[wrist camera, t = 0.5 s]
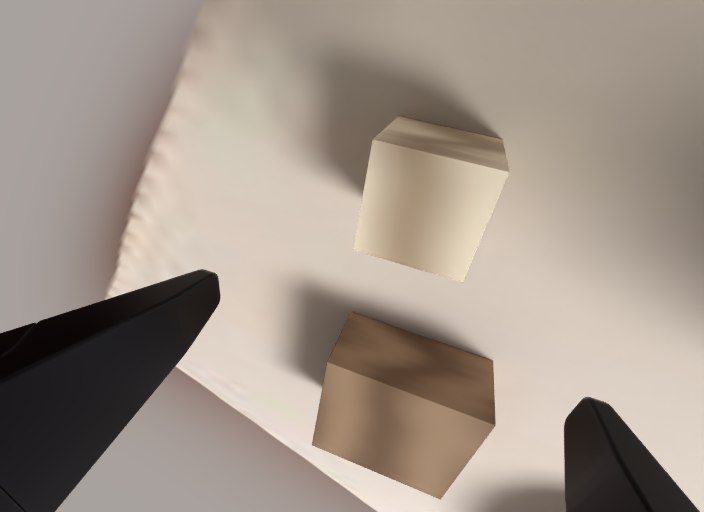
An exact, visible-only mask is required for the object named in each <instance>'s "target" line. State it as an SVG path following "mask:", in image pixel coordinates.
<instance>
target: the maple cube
mask: <svg viewBox="0 0 704 512" xmlns="http://www.w3.org/2000/svg"><path fill="white" fill-rule="evenodd" d="M508 174H509V168H508V163H507V159H506V154H505V149H504V144H503V139H499V138H494V137H490V136H485V135H481V134H476V133H472V132H467V131H463V130H458V129H454V128H449V127H445V126H440V125H436V124H431V123H427V122H422V121H418V120H413V119H409V118H405V117H400V116H398V117H397V118H396V119H395V120H393V121H392V122H391V123H390V124H389V125H388V126H387V127H386V128H385V129H384V130H382V131H381V132H380V133H379V134H378V135H377V136H376V137H375V138H374V139H373V140H372V146H371V151H370V157H369V163H368V168H367V174H366V180H365V185H364V191H363V197H362V202H361V208H360V214H359V219H358V225H357V231H356V237H355V242H354V248H353V250H356V251H359V252H362V253H366V254H369V255H372V256H376V257H379V258H382V259H386V260H389V261H392V262H396V263H399V264H402V265H406V266H409V267H412V268H416V269H419V270H422V271H425V272H429V273H432V274H435V275H439V276H442V277H445V278H449V279H452V280H455V281H459V282H462V283H463V281H464V279H465V276H466V274H467V272H468V269H469V267H470V264H471V262H472V260H473V257H474V255H475V253H476V250H477V248H478V245H479V243H480V241H481V238H482V236H483V234H484V231H485V229H486V226H487V224H488V222H489V219H490V217H491V215H492V212H493V210H494V207H495V205H496V203H497V200H498V198H499V196H500V193H501V191H502V188H503V186H504V184H505V181H506V179H507V177H508Z"/></svg>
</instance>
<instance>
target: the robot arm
mask: <svg viewBox="0 0 704 512" xmlns="http://www.w3.org/2000/svg"><path fill="white" fill-rule="evenodd" d="M219 302H220V289H219V280H218V276H217V274H215V273H213V272H210V271H207V270H204V269H201V270H197V271H194V272H191V273H188V274H185V275H181V276H178V277H175V278H172V279H169V280H166V281H163V282H160V283H157V284H153V285H150V286H147V287H144V288H141V289H138V290H135V291H132V292H128V293H125V294H122V295H119V296H116V297H113V298H110V299H107V300H103V301H101V302H97V303H94V304H91V305H88V306H85V307H82V308H79V309H76V310H72V311H69V312H66V313H63V314H60V315H57V316H54V317H50V318H48V319H44V320H41V321H39V322H38V323H32V324H29V325H25V326H22V327H19V328H16V329H13V330H10V331H6V332H3V333H0V512H55V511H56V510H57V508H58V507H59V506H60V505H61V504H62V502H63V501H64V500H65V499H66V497H67V496H68V495H69V494H70V493H71V492H72V490H73V489H74V488H75V487H76V485H77V484H78V483H79V482H80V481H81V480H82V478H83V477H84V476H85V475H86V473H87V472H88V471H89V470H90V469H91V467H92V466H93V465H94V464H95V463H96V461H97V460H98V459H99V458H100V457H101V455H102V454H103V453H104V452H105V450H106V449H107V448H108V447H109V446H110V444H111V443H112V442H113V441H114V440H115V438H116V437H117V436H118V434H119V433H120V432H121V431H122V430H123V429H124V427H125V426H126V425H127V424H128V423H129V421H130V420H131V419H132V418H133V417H134V415H135V414H136V413H137V412H138V411H139V409H140V408H141V407H142V406H143V404H144V403H145V402H146V401H147V400H148V398H149V397H150V396H151V395H152V394H153V392H154V391H155V390H156V389H157V388H158V386H159V385H160V384H161V383H162V382H163V380H164V379H165V378H166V377H167V375H168V374H169V373H170V371H172V369H173V368H174V367H175V366H176V365H177V363H178V362H179V361H180V360H181V358H182V357H183V356H184V355H185V353H186V352H187V351H188V349H189V348H190V346H191V345H192V344H193V342H194V341H195V339H196V338H197V336H198V335H199V333H200V332H201V330H202V329H203V327H204V326H205V324H206V323H207V321H208V320H209V318H210V317H211V315H212V314H213V312H214V311H215V309H216V308H217V306H218V304H219ZM564 457H565V501H566V511H567V512H700V511H699V510H698V509H697V508H696V507H695V505H694V504H693V503H692V502H691V501H690V499H689V498H688V497H687V496H686V495H685V494H684V492H683V491H682V490H681V489H680V488H679V486H678V485H677V484H676V483H675V482H674V480H673V479H672V478H671V477H670V476H669V475H668V473H667V472H666V471H665V470H664V469H663V467H662V466H661V465H660V464H659V463H658V461H657V460H656V459H655V458H654V457H653V455H652V454H651V453H650V452H649V451H648V450H647V448H646V447H645V446H644V445H643V444H642V442H641V441H640V440H639V439H638V438H637V436H636V435H635V434H634V433H633V432H632V431H631V429H630V428H629V427H628V426H627V425H626V423H625V422H624V421H623V420H622V419H621V417H620V416H619V415H618V414H617V413H616V411H615V410H614V409H613V408H612V407H611V406H610V405H609V404H607V403H606V402H603V401H600V400H597V399H594V398H591V397H585V398H583V399H582V400H581V401H580V402H579V404H578V405H577V406H576V407H575V408H574V409H573V411H572V412H571V413H570V414H569V415H568V417H567V418H566V420H565V425H564Z"/></svg>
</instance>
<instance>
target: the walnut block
mask: <svg viewBox="0 0 704 512" xmlns="http://www.w3.org/2000/svg"><path fill="white" fill-rule="evenodd" d="M494 427H495V400H494V373H493V361H491V360H489V359H486V358H483V357H480V356H477V355H474V354H471V353H468V352H466V351H463V350H460V349H457V348H454V347H451V346H448V345H445V344H443V343H440V342H437V341H434V340H431V339H428V338H425V337H422V336H420V335H417V334H414V333H411V332H408V331H405V330H402V329H399V328H397V327H394V326H391V325H388V324H385V323H382V322H379V321H376V320H374V319H371V318H368V317H365V316H362V315H359V314H356V313H353V312H351V313H350V315H349V318H348V320H347V322H346V324H345V326H344V328H343V330H342V332H341V334H340V336H339V338H338V341H337V343H336V345H335V347H334V349H333V351H332V353H331V355H330V357H329V359H328V362H327V366H326V372H325V377H324V382H323V388H322V393H321V399H320V404H319V409H318V415H317V420H316V426H315V431H314V436H313V442H312V445H313V446H315V447H318V448H320V449H322V450H325V451H327V452H330V453H332V454H334V455H337V456H339V457H341V458H344V459H346V460H348V461H351V462H353V463H356V464H358V465H360V466H363V467H365V468H367V469H370V470H372V471H374V472H377V473H379V474H382V475H384V476H386V477H389V478H391V479H393V480H396V481H398V482H401V483H403V484H405V485H408V486H410V487H412V488H415V489H417V490H419V491H422V492H424V493H427V494H429V495H431V496H434V497H436V498H438V499H441V498H442V497H443V495H444V494H445V493H446V491H447V490H448V489H449V487H450V486H451V485H452V483H453V482H454V480H455V479H456V478H457V476H458V475H459V474H460V472H461V471H462V470H463V468H464V467H465V466H466V464H467V463H468V462H469V460H470V459H471V458H472V456H473V455H474V454H475V452H476V451H477V450H478V448H479V447H480V446H481V444H482V443H483V442H484V440H485V439H486V437H487V436H488V435H489V433H490V432H491V431H492V429H493V428H494Z"/></svg>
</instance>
